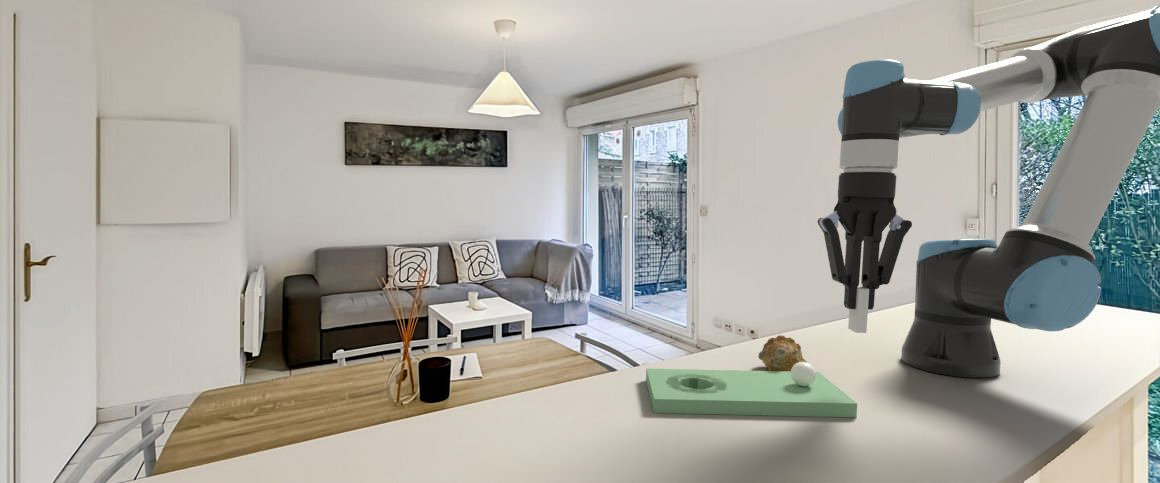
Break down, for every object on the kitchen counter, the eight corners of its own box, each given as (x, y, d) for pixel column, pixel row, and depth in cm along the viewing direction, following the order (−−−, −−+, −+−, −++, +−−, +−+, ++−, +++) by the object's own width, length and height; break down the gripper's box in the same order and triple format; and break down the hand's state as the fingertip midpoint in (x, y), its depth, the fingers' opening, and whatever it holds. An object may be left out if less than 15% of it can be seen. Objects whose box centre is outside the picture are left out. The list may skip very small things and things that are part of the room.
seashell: (814, 394, 97) (813, 351, 92) (765, 398, 99) (761, 356, 94) (801, 356, 105) (800, 314, 100) (756, 360, 107) (752, 320, 102)
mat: (818, 384, 93) (818, 372, 93) (856, 417, 79) (857, 403, 79) (646, 380, 94) (646, 368, 94) (654, 412, 80) (654, 398, 80)
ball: (810, 382, 88) (811, 359, 87) (819, 390, 84) (820, 366, 84) (786, 381, 88) (787, 358, 88) (794, 389, 84) (795, 365, 84)
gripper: (899, 173, 87) (888, 326, 89) (812, 171, 87) (803, 323, 89) (927, 171, 79) (915, 338, 81) (832, 169, 80) (822, 335, 81)
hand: (857, 330), depth 85 cm, fingers closed
